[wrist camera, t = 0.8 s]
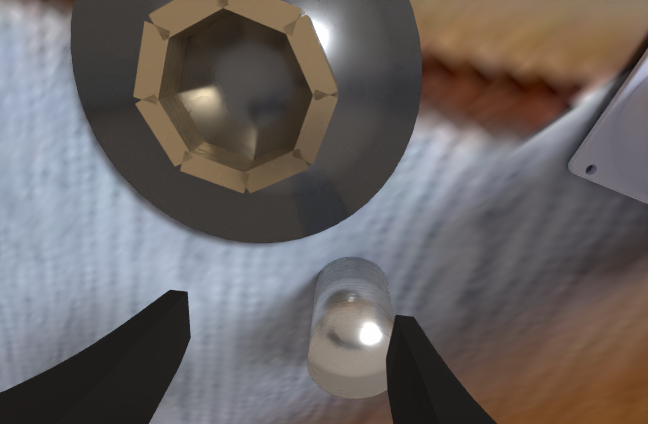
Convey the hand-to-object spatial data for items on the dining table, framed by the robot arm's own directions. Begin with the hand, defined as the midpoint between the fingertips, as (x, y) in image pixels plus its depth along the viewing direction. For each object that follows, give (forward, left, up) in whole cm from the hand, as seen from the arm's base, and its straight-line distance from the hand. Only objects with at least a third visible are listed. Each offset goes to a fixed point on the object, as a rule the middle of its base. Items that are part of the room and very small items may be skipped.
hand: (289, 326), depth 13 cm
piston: (-4, +4, -9) cm, 10 cm away
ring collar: (+5, -5, -9) cm, 11 cm away
